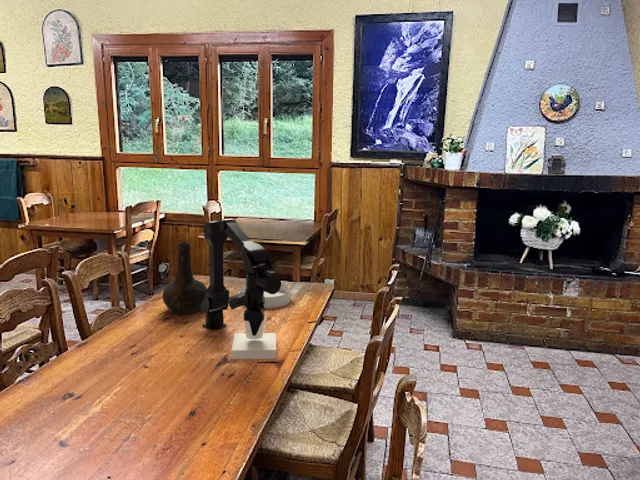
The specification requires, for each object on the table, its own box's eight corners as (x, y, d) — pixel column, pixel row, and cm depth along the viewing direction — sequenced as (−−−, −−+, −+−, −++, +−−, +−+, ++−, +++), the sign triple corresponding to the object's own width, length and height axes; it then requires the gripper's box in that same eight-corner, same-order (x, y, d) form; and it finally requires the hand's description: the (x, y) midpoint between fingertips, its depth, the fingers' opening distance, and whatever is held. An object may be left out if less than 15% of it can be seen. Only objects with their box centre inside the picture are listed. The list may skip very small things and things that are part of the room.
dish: (230, 304, 204) (230, 293, 203) (252, 290, 225) (252, 280, 224) (279, 311, 198) (279, 300, 197) (297, 296, 218) (297, 285, 217)
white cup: (261, 341, 155) (261, 320, 154) (240, 338, 156) (241, 318, 155) (267, 333, 162) (267, 313, 160) (248, 331, 163) (248, 311, 161)
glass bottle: (184, 321, 183) (183, 249, 177) (153, 311, 192) (150, 242, 186) (217, 308, 198) (217, 242, 192) (186, 300, 207) (185, 236, 201)
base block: (231, 359, 152) (231, 350, 152) (234, 341, 166) (234, 333, 165) (275, 358, 154) (276, 350, 153) (275, 341, 167) (275, 333, 167)
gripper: (232, 278, 164) (232, 321, 167) (227, 295, 146) (227, 343, 149) (265, 278, 165) (264, 321, 168) (264, 295, 147) (263, 343, 150)
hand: (254, 331), depth 159 cm, fingers closed on white cup, 6 cm apart
